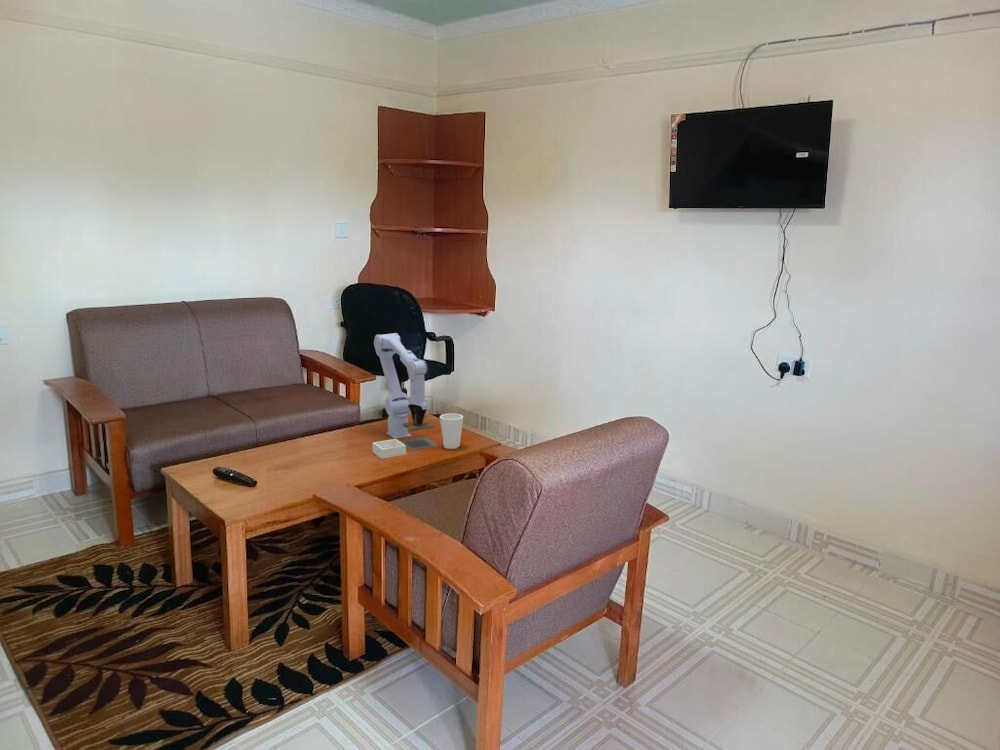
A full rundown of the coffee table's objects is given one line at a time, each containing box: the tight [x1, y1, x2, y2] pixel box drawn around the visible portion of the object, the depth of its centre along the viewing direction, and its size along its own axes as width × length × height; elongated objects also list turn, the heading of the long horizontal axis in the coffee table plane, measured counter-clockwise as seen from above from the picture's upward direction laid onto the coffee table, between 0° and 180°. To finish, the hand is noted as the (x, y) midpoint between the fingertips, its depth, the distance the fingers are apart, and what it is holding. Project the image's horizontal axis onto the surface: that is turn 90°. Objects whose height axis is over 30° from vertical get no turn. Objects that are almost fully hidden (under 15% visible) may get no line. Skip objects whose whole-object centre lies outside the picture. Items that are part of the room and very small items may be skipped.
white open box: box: [372, 438, 407, 460], centre depth 277 cm, size 10×10×4 cm
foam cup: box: [439, 413, 464, 450], centre depth 285 cm, size 10×9×13 cm
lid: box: [403, 414, 435, 432], centre depth 287 cm, size 10×10×5 cm
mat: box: [399, 437, 438, 451], centre depth 290 cm, size 12×12×1 cm
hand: (417, 422), depth 287 cm, fingers closed on lid, 3 cm apart
